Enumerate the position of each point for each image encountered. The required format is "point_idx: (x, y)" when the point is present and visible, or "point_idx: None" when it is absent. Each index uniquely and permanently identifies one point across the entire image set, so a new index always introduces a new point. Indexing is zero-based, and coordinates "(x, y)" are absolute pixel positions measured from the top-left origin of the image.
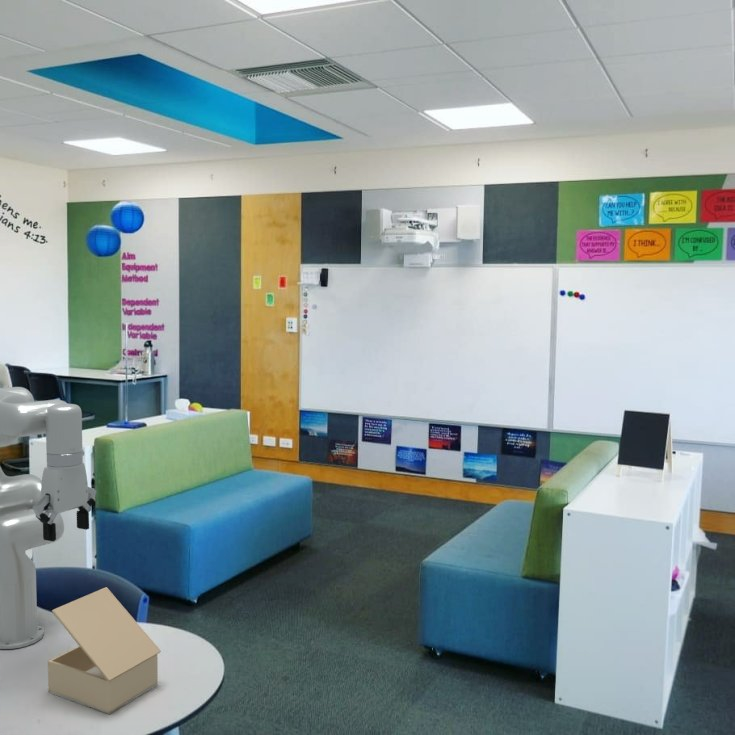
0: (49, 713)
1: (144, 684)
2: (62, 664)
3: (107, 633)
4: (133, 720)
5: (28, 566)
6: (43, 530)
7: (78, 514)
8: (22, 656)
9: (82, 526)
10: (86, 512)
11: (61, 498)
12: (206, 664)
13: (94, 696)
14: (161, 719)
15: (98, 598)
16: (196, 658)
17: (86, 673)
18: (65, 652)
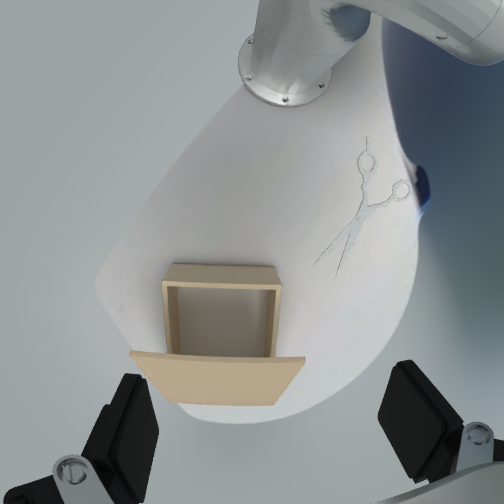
0: (138, 306)
1: None
2: (167, 311)
3: (214, 390)
4: None
5: (327, 39)
6: (93, 430)
7: (429, 430)
8: (239, 125)
9: (388, 406)
10: (423, 476)
11: None
12: (336, 381)
13: None
14: (205, 412)
15: (258, 369)
16: (346, 363)
17: None
18: (200, 283)
